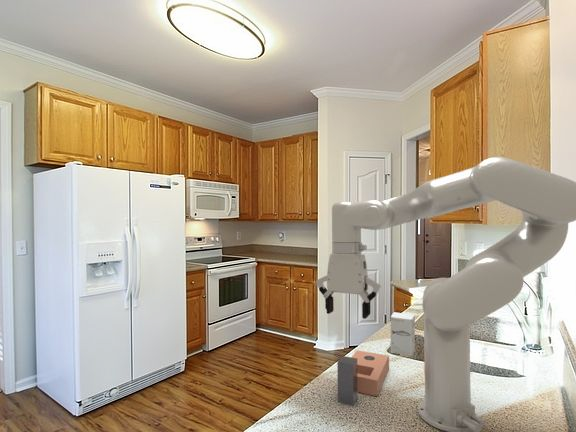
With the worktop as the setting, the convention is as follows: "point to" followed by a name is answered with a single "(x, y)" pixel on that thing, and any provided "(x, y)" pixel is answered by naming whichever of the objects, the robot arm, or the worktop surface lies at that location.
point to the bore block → (371, 371)
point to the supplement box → (403, 333)
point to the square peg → (347, 380)
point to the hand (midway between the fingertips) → (347, 314)
